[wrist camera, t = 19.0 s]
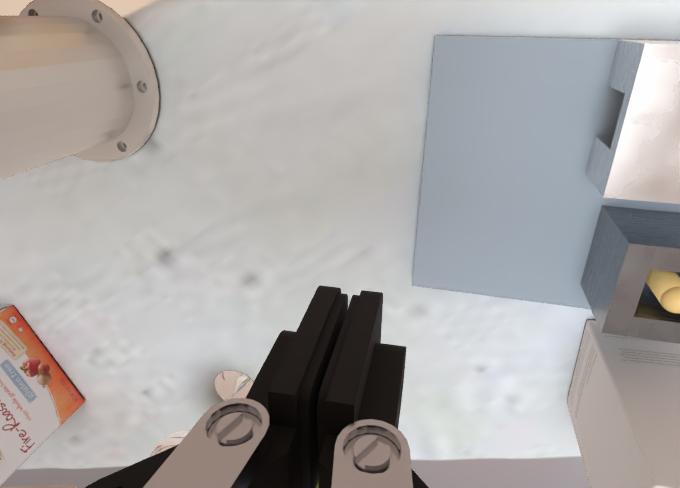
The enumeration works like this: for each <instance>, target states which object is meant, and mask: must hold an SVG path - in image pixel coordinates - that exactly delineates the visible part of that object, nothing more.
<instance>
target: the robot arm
mask: <svg viewBox="0 0 680 488" xmlns="http://www.w3.org/2000/svg"><path fill="white" fill-rule="evenodd" d="M158 109H159V92H158V83H157V78H156V75H155V71H154V67H153V64H152V62H151V60H150V57H149V55H148V53H147V50H146V48H145V47H144V45H143V43H142V42H141V40H140V39H139V37H138V35H137V34H136V33H135V31H134V30H133V29H132V28H131V27H130V25H129V24H128V23H127V22H126V21H125V20H124V19H123V18H122V17H121V16H120V15H119V14H117V13H116V12H115V11H114V10H113V9H112V8H110V7H108V6H106V5H105V4H103V3H102V2H100V1H98V0H34V1H32V2H30V3H29V4H28V5H27V7H26V8H25V9H24V10H23V11H22V12H21V14H20V15H19V16H0V180H1V179H4V178H7V177H9V176H12V175H15V174H18V173H21V172H24V171H27V170H29V169H32V168H35V167H38V166H41V165H44V164H47V163H49V162H52V161H55V160H58V159H61V158H64V157H67V156H69V155H74V156H77V157H79V158H82V159H84V160H89V161H94V162H111V161H115V160H119V159H122V158H124V157H127V156H129V155H131V154H133V153H134V152H136V151H137V150H138V149H140V148H141V147H142V146H143V145H144V144H145V142H146V141H147V140H148V139H149V137H150V135H151V133H152V131H153V129H154V127H155V124H156V120H157V116H158ZM382 304H383V293H380V292H371V291H361V293H360V296H358V295H353V296H352V299H351V302H350V305H349V308H348V296H347V294H341V289H340V288H336V287H327V286H319V287H318V288H317V290H316V293H315V295H314V297H313V299H312V301H311V303H310V305H309V307H308V309H307V311H306V313H305V315H304V317H303V319H302V321H301V323H300V325H299V328H298V330H297V332H292V331H285V330H284V331H282V332H281V333H280V334H279V336H278V338H277V340H276V342H275V344H274V345H273V347H272V349H271V351H270V353H269V355H268V357H267V359H266V360H265V362H264V364H263V366H262V368H261V370H260V372H259V374H258V375H257V377H256V379H255V381H254V383H253V385H252V387H251V388H250V390H249V392H248V394H247V396H246V398H234V399H229V400H226V401H222V402H220V403H218V404H216V405H215V406H213V407H211V408H210V409H209V410H208V411H207V412H206V413H205V414H204V415H203V416H202V417H201V418H200V420H199V421H198V422H197V423H196V424H195V426H194V427H193V428H192V429H191V430H190V432H189V433H188V434H187V435H186V436H185V438H184V439H183V440H182V441H181V443H180V444H178V445H176V446H174V447H172V448H169V449H167V450H165V451H163V452H160V453H158V454H156V455H154V456H151V457H149V458H147V459H144V460H142V461H140V462H138V463H135V464H133V465H131V466H129V467H126V468H124V469H122V470H120V471H118V472H115V473H113V474H111V475H108V476H106V477H104V478H101V479H99V480H97V481H96V482H94V483H92V484H91V485H89V486H87V487H86V488H316V487H317V484H318V487H319V488H428V487H427V485H426V484H425V483H424V482H423V481H422V480H421V479H420V478H419V477H418V475H417V474H416V473H415V472H414V471H413V470H412V469H411V460H410V450H409V446H408V442H407V440H406V438H405V437H404V435H403V434H402V433H401V432H400V431H399V430H398V423H399V415H400V407H401V398H402V389H403V379H404V369H405V357H406V347H404V346H396V345H389V344H381V343H380V341H381V323H382ZM0 488H78V486H77V484H73V485H72V484H70V485H37V486H36V485H35V486H0Z"/></svg>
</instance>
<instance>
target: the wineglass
mask: <svg viewBox="0 0 680 488" xmlns="http://www.w3.org/2000/svg"><path fill="white" fill-rule="evenodd" d="M253 383H254V382H253V381H252V380H251V379H250V378H249V377H248V376H246V375H244V374H242V373H240V372H237V371H224V372H221V373H220V374H219V375H217V377H216V379H215V388H216V391H217V393H218V394H219V396H220V397H221V398H222V399H223V400H224V401H226V400H229V399H234V398H246V396H247V394H248V392H249V390H250V388H251V387H252V385H253ZM189 432H190V430H188V431H179V432H175V433H172V434H170V435H169V436H167V437H166V438H164V439H163V440H162V441H160V442H159V443H158V444H157V445H156V446H155V447H154V449H153V451H152V453H151V455H150V457H151V456H154V455H156V454H158V453H160V452H163V451H165V450H167V449H169V448H172V447H174V446H176V445H178V444H180V443H181V441H182V440H183V439H184V438H185V436H186V435H187V434H188V433H189Z"/></svg>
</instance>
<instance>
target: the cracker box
mask: <svg viewBox="0 0 680 488" xmlns="http://www.w3.org/2000/svg"><path fill="white" fill-rule="evenodd" d="M83 403H84V399H83V398H82V397H81V396H80V394H79V393H78V392H77V390H76V389H75V388H74V386H73V385H72V384H71V382H70V381H69V380H68V378H67V377H66V376H65V374H64V373H63V372H62V370H61V369H60V368H59V366H58V365H57V364H56V362H55V361H54V360H53V358H52V357H51V356H50V354H49V353H48V352H47V350H46V349H45V348H44V346H43V345H42V344H41V342H40V341H39V339H38V338H37V337H36V336H35V334H34V333H33V331H32V330H31V329H30V327H29V326H28V325H27V323H26V322H25V321H24V319H23V318H22V317H21V315H20V314H19V313H18V311H17V310H16V308H15V307H14V306H10V307H7V308H5V309H2V310H0V485H1V484H2V483H4V482H5V480H6V479H7V478H9V476H11V474H13V473H14V472H15V471H16V470H17V469H18V468H19V467H20V466H21V465H22V464H23V463H24V462H25V461H26V460H27V459H28V458H29V457H30V456H31V455H32V454H33V453H34V452H35V451H36V450H37V449H38V448H39V447H40V446H41V445H42V444H43V443H44V442H45V441H46V440H47V439H48V438H49V437H50V436H51V435H52V434H53V433H54V432H55V431H56V430H57V429H58V428H59V427H60V426H61V425H62V424H63V423H64V422H65V421H66V420H67V419H68V418H69V417H70V416H71V415H72V414H73V413H74V412H75V411H76V410H77V409H78V408H79V407H80V406H81V405H82V404H83Z"/></svg>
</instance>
